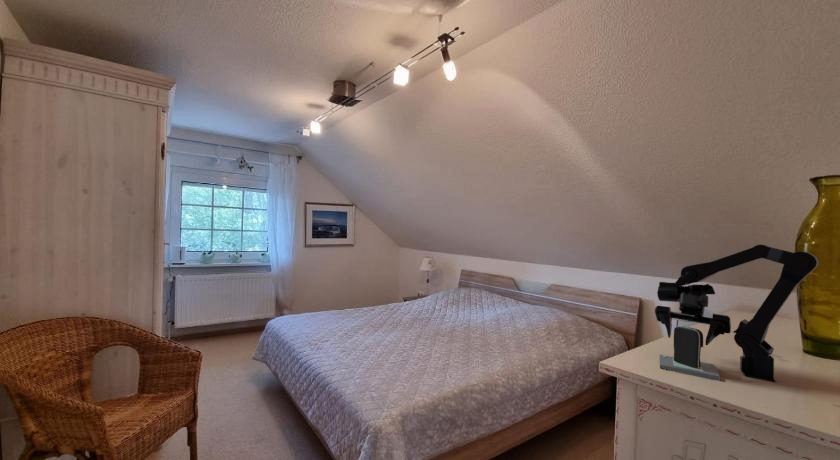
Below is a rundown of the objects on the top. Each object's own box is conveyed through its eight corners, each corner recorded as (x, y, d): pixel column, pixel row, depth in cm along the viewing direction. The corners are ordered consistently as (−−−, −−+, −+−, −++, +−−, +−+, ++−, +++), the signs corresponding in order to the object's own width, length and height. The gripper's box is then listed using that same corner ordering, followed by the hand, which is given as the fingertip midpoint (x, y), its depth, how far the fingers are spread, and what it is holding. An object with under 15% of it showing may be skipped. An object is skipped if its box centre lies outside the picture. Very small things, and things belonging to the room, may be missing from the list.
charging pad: (714, 368, 107) (714, 364, 107) (719, 380, 97) (719, 375, 97) (659, 358, 115) (659, 353, 115) (659, 368, 105) (659, 363, 105)
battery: (704, 367, 104) (705, 329, 104) (697, 369, 102) (698, 330, 102) (679, 359, 110) (680, 324, 110) (672, 361, 108) (673, 324, 109)
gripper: (656, 281, 116) (647, 318, 108) (730, 289, 103) (725, 332, 95) (661, 302, 122) (652, 339, 114) (732, 312, 108) (728, 354, 100)
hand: (687, 340), depth 105 cm, fingers open, 9 cm apart
